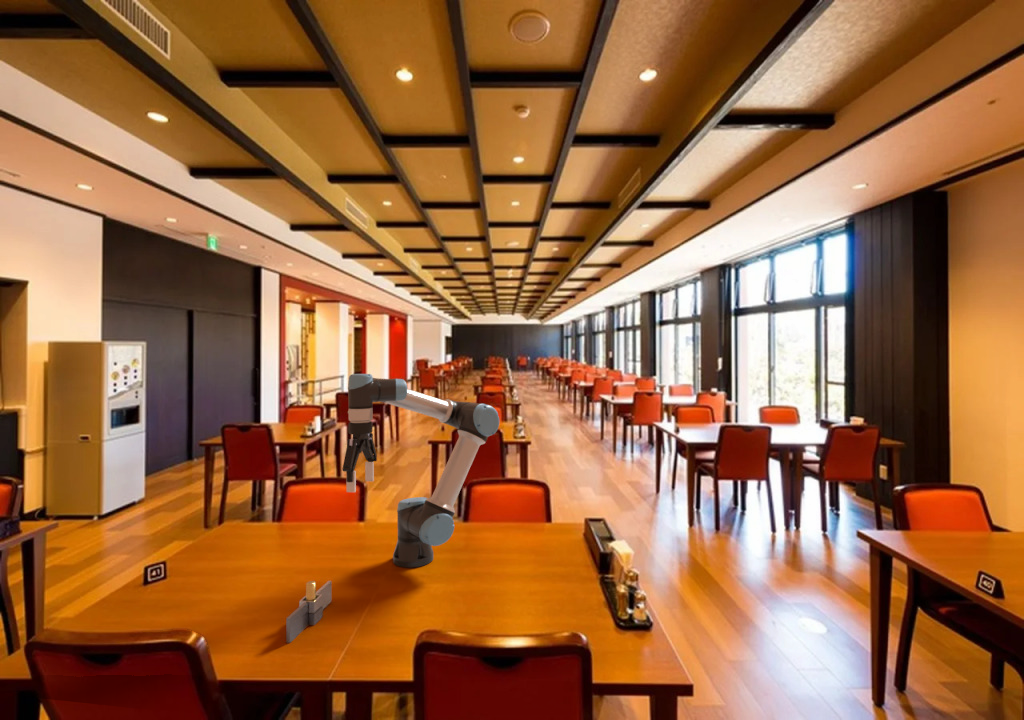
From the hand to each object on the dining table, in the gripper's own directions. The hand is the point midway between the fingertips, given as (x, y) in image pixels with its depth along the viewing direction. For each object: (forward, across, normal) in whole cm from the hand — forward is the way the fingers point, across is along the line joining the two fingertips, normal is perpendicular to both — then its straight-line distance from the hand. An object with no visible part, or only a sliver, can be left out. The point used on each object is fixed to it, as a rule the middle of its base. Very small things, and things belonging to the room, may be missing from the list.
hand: (360, 486), depth 159 cm
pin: (+35, +18, -7) cm, 40 cm away
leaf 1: (+35, +14, -7) cm, 38 cm away
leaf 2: (+35, +23, -7) cm, 42 cm away
